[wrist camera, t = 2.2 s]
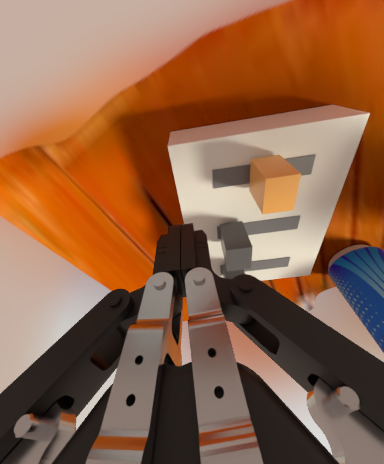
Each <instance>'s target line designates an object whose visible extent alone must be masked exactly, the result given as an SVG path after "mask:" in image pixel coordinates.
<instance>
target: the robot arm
mask: <svg viewBox="0 0 384 464" xmlns="http://www.w3.org/2000/svg"><path fill="white" fill-rule="evenodd" d="M183 297H187V305H188V315H189V320H188V329H189V338H190V349H191V358H192V362H190V363H188V364H185V365H183V366H182V356H181V335H182V321H183ZM225 320H226V321H230V322H233V323H234V325H235V326H236V327H237V328H239V329H240V330H241V331H242V332H243V333H244V334H245V335H246V336H247V337H248V338H249V339H250V340H252V341H253V342H254V343H255V344H256V345H257V346H258V347H259V348H260V349H261V350H262V351H264V352H265V353H266V354H267V355H268V356H269V357H270V358H271V359H272V360H273V361H275V363H277V364H278V365H279V366H280V367H281V368H282V369H283V370H284V371H285V372H286V373H287V374H289V375H290V376H291V377H292V378H293V379H294V380H295V381H296V382H297V383H298V384H299V385H301V386H302V387H303V388H304V389H305V390H306V391H307V392H308V394H307V406H308V410H309V412H310V414H311V416H312V418H313V420H314V421H315V423H316V424H317V425H318V426H319V427H320V429H321V430H322V431H323V433H324V434H325V436H326V438H327V440H328V442H329V444H330V447H331V450H332V455H333V456H332V455H331V454H330V453H329V452H328V450H327V449H326V448H325V447H324V446H323V445H322V444H321V443H320V442H319V441H318V440H317V438H316V437H314V435H313V434H312V433H311V432H310V431H309V430H308V429H307V428H306V426H305V425H304V424H303V423H302V422H301V421H300V420H299V419H298V418H297V417H296V416H295V414H294V413H293V412H292V411H291V410H290V409H289V408H288V407H287V406H286V405H285V403H284V402H283V401H282V400H281V399H280V398H279V397H278V396H277V395H276V394H275V393H274V391H273V390H272V389H271V388H270V387H269V386H268V385H267V384H266V383H265V382H264V381H263V379H262V378H261V377H260V376H259V375H257V374H256V373H255V372H254V371H253V370H251V369H249V368H248V367H246V366H245V365H243V364H240V363H238V362H236V360H235V356H234V352H233V348H232V344H231V340H230V336H229V333H228V328H227V324H226V321H225ZM117 367H118V368H117ZM116 368H117V372H116V375H115V379H114V383H113V384H112V385H111V386H110V387H109V388H108V389H107V391H106V392H105V393H104V394H103V396H102V397H101V398H100V400H99V401H98V403H97V404H96V405H95V406H94V408H93V409H92V410H91V412H90V413H89V414H88V416H87V417H86V418H85V420H84V421H83V422H82V424H81V425H80V426H79V428H78V429H77V430H76V417H77V416H78V415H79V414H80V412H81V411H82V410H83V409H84V408H85V406H86V405H87V404H88V402H89V401H90V400H91V399H92V398H93V396H94V395H95V394H96V393H97V391H98V390H99V389H100V388H101V387H102V385H103V384H104V383H105V382H106V380H107V379H108V378H109V377H110V376H111V374H112V373H113V372H114V371H115V369H116ZM0 464H384V362H382V361H381V360H379V359H378V358H376V357H375V356H373V355H371V354H370V353H368V352H367V351H365V350H364V349H362V348H361V347H359V346H358V345H356V344H355V343H353V342H352V341H350V340H349V339H347V338H346V337H344V336H343V335H341V334H340V333H338V332H337V331H335V330H334V329H332V328H331V327H329V326H327V325H326V324H325V323H323V322H322V321H320V320H319V319H317V318H316V317H314V316H313V315H311V314H310V313H308V312H307V311H305V310H304V309H302V308H301V307H299V306H298V305H296V304H295V303H293V302H292V301H290V300H289V299H287V298H286V297H284V296H283V295H281V294H280V293H278V292H277V291H275V290H274V289H272V288H271V287H269V286H268V285H266V284H265V283H263V282H262V281H260V280H258V279H257V278H255V277H254V276H252V275H248V274H241V275H238V276H236V277H234V278H233V279H227V278H222V277H220V276H218V275H217V274H215V273H214V271H213V270H212V267H211V261H210V254H209V248H208V241H207V235H206V234H205V232H204V231H203V230H197V231H194V226H193V223H188V224H181V225H174V226H169V228H168V235H161V237H160V238H159V240H158V241H157V249H156V255H155V262H154V269H153V275H152V276H151V277H150V278H149V279H148V281H147V283H146V285H145V286H144V287H142V288H140V289H138V290H135V291H133V292H131V293H129V292H128V291H127V290H125V289H116V290H114V291H112V292H110V293H109V294H107V295H106V296H105V297H104V298H103V299H102V300H101V301H100V302H99V303H98V304H97V305H95V306H94V307H93V308H92V309H91V310H90V311H89V312H88V313H87V314H86V315H85V316H84V317H83V318H81V319H80V320H79V322H77V323H76V324H75V325H74V326H73V327H72V328H71V329H70V330H69V331H68V332H66V334H64V335H63V336H62V337H61V338H60V339H59V340H58V341H57V342H56V343H55V344H54V345H53V346H51V347H50V348H49V349H48V350H47V351H46V352H45V353H44V354H43V355H42V356H41V357H40V358H38V359H37V360H36V361H35V362H34V363H33V364H32V365H31V366H30V367H29V368H28V369H27V370H26V371H25V372H24V373H22V374H21V375H20V376H19V377H18V378H17V379H16V380H15V381H14V382H13V383H12V384H10V386H8V387H7V388H6V389H5V390H4V391H3V392H2V393H1V394H0Z"/></svg>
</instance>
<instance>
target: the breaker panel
mask: <svg viewBox="0 0 384 464" xmlns="http://www.w3.org/2000/svg"><path fill="white" fill-rule="evenodd" d="M369 115H370V113H368V112H364V111H359V110H355V109H350V108H345V107H341V106H336V105H327V106H321V107H315V108H309V109H303V110H297V111H291V112H286V113H280V114H274V115H268V116H262V117H256V118H250V119H244V120H238V121H232V122H226V123H220V124H214V125H208V126H202V127H196V128H191V129H185V130H179V131H173V132H170V137H169V141H168V151H169V156H170V160H171V165H172V170H173V174H174V179H175V184H176V188H177V193H178V198H179V203H180V207H181V212H182V217H183V221H184V224H188V223H193V226H194V231H197V230H203V231H204V232H205V234H206V235H207V241H208V248H209V254H210V261H211V267H212V270H213V271H214V273H215V274H217V275H218V276H220V277H222V278H223V264H225V260H224V255H223V251H222V246H221V235H220V224H224V223H232V222H239V221H242V222H243V224H244V227H245V229H246V232H247V234H248V237H249V239H250V242H251V244H252V247H253V248H252V262H251V269H244V272H245V274H248V275H252V276H254V277H255V278H257V279H258V280H260V281H262V280H271V279H279V278H288V277H297V276H305V275H310V274H311V271H312V268H313V265H314V263H315V260H316V257H317V255H318V252H319V249H320V247H321V244H322V241H323V239H324V236H325V233H326V231H327V228H328V225H329V223H330V220H331V217H332V214H333V212H334V209H335V206H336V204H337V201H338V198H339V196H340V193H341V190H342V188H343V185H344V182H345V180H346V177H347V174H348V172H349V169H350V166H351V163H352V161H353V158H354V155H355V153H356V150H357V147H358V145H359V142H360V139H361V137H362V134H363V131H364V129H365V126H366V123H367V121H368V118H369ZM274 155H280V156H281V157H283V158H284V159H285V160H286V161H287V162H288V163H290V164H291V165H292V166H293V167H294V168H295V169H296V170H298V171H299V172H300V173H301V178H300V182H299V187H298V191H297V196H296V201H295V205H294V210H291V211H284V212H276V213H269V214H262V213H261V211H260V209H259V207H258V206H257V204H256V202H255V200H254V198H253V197H252V195H251V193H250V191H249V186H250V163H251V159H255V158H261V157H268V156H274Z"/></svg>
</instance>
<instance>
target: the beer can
mask: <svg viewBox="0 0 384 464" xmlns="http://www.w3.org/2000/svg"><path fill="white" fill-rule="evenodd" d="M328 275H329V277H330V278H331V279H332V281H333V282H334V284H335V285H336V286H337V288H338V289H339V291H340V292H341V293H342V295H343V296H344V298H345V299H346V300H347V302H348V303H349V305H350V306H351V307H352V309H353V310H354V312H355V313H356V314H357V316H358V317H359V319H360V320H361V321H362V323H363V324H364V326H365V327H366V328H367V330H368V331H369V333H370V334H371V335H372V337H373V338H374V340H375V341H376V342H377V344H378V345H379V347H380V348H381V350H382V351H383V352H384V251H383V250H382V249H380V248H378V247H373V246H368V245H354V246H350V247H347V248H345V249H343V250H341V251H339V252H338V253H337V254H335V255H334V256H333V257H332V258H331V260H330V262H329V269H328Z"/></svg>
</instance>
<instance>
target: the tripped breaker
mask: <svg viewBox="0 0 384 464" xmlns="http://www.w3.org/2000/svg"><path fill="white" fill-rule="evenodd" d="M300 178H301V173H300V172H299V171H298V170H296V169H295V168H294V167H293V166H292V165H291V164H290V163H288V162H287V161H286V160H285V159H284V158H283V157H281V156H280V155H274V156H268V157H261V158H255V159H251V163H250V186H249V191H250V193H251V195H252V197H253V198H254V200H255V202H256V204H257V206H258V207H259V209H260V211H261V213H262V214H269V213H276V212H284V211H291V210H294V205H295V201H296V196H297V191H298V187H299V182H300Z"/></svg>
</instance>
